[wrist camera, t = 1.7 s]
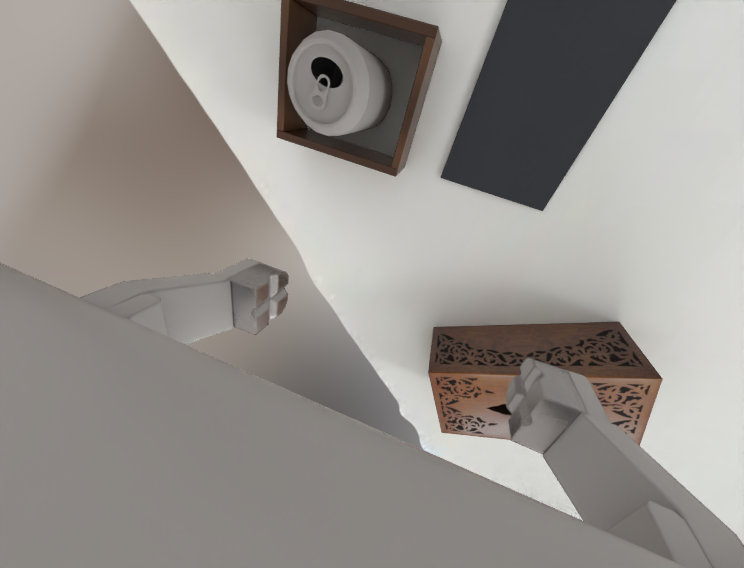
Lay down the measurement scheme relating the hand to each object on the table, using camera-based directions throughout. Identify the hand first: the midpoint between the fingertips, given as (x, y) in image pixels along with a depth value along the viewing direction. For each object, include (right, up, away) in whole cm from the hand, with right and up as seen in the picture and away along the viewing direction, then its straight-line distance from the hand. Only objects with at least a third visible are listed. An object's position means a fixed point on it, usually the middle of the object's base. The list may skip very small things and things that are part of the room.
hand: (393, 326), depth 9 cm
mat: (+17, +21, +19) cm, 33 cm away
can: (-2, +24, +23) cm, 33 cm away
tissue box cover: (+24, -11, +37) cm, 46 cm away
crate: (-2, +24, +23) cm, 33 cm away
